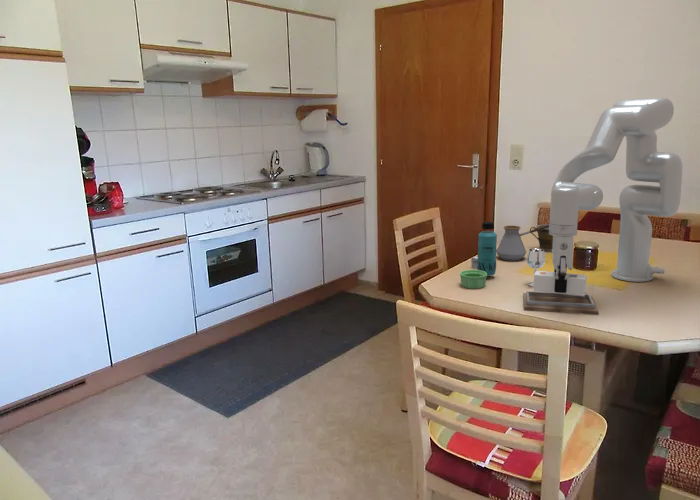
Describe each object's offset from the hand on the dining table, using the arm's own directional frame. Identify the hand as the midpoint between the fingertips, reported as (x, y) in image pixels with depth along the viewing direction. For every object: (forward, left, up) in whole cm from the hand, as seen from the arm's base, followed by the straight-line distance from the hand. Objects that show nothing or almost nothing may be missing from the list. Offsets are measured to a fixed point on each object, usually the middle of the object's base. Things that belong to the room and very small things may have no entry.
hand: (559, 288), depth 154 cm
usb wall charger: (+24, -39, -6) cm, 46 cm away
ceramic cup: (0, -69, -5) cm, 69 cm away
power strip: (0, 0, -1) cm, 1 cm away
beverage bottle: (+22, -25, -5) cm, 34 cm away
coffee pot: (+9, -51, -5) cm, 52 cm away
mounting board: (0, 0, -5) cm, 5 cm away
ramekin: (+26, -15, -6) cm, 31 cm away
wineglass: (+6, -19, -5) cm, 21 cm away
